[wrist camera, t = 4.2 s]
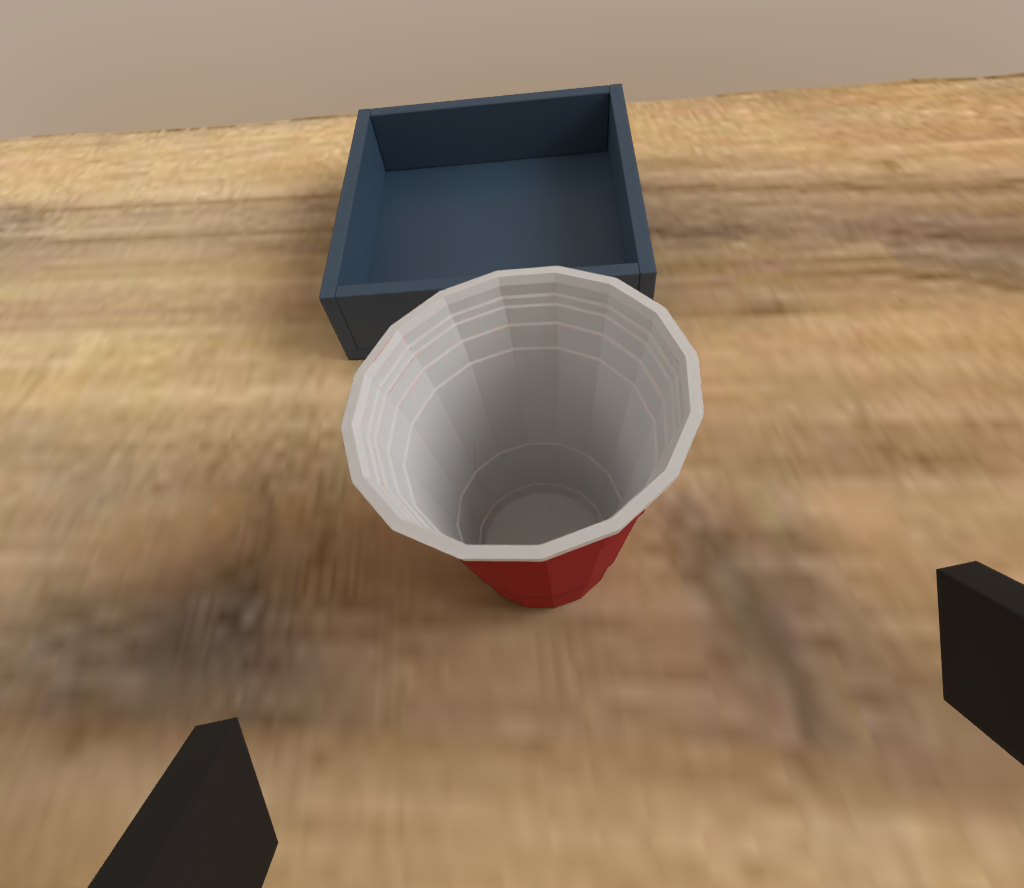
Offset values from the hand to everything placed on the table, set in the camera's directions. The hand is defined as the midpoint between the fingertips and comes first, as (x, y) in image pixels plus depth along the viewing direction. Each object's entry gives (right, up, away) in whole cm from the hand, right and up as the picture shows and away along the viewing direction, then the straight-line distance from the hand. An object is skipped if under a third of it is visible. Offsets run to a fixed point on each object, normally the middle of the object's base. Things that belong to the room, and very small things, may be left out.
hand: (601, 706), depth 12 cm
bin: (-3, +17, +28) cm, 33 cm away
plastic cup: (0, 0, +17) cm, 17 cm away
